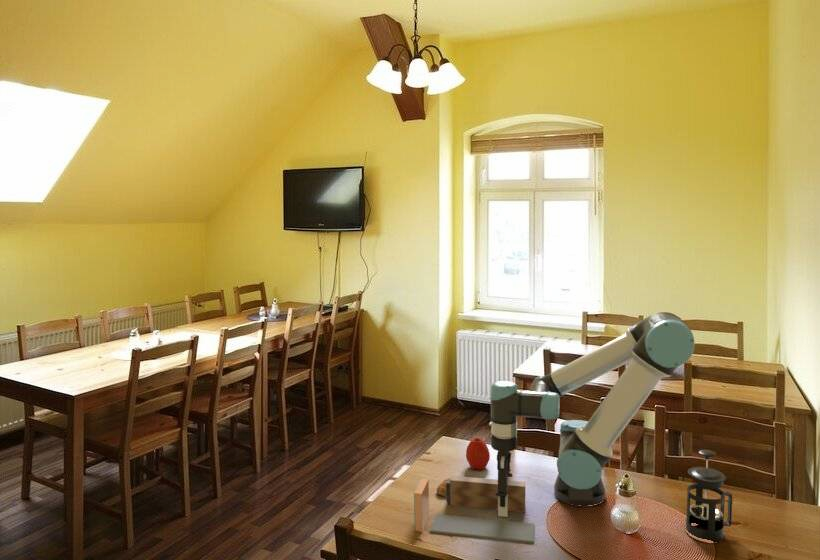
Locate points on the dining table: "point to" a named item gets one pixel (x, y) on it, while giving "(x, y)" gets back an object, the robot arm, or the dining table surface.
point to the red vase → (477, 454)
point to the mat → (483, 528)
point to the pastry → (442, 488)
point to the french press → (707, 502)
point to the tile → (421, 504)
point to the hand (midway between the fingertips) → (504, 506)
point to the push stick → (483, 493)
